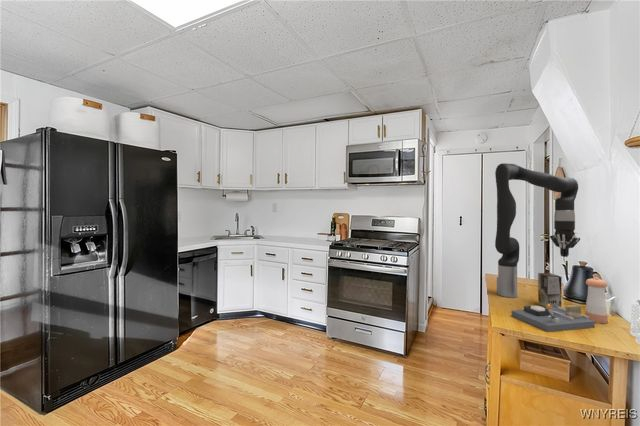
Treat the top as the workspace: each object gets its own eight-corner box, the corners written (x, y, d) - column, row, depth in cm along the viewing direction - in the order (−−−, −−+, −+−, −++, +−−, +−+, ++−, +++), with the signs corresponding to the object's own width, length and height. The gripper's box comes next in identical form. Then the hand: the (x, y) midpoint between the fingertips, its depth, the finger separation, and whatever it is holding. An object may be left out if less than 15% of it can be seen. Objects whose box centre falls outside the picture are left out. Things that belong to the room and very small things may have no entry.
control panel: (511, 315, 136) (511, 306, 136) (553, 312, 140) (553, 303, 140) (548, 331, 118) (548, 320, 118) (594, 327, 122) (594, 316, 122)
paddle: (565, 317, 126) (565, 305, 126) (577, 316, 127) (577, 305, 127) (569, 318, 125) (569, 307, 125) (581, 317, 126) (581, 306, 126)
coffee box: (562, 309, 144) (562, 276, 144) (547, 308, 145) (547, 276, 145) (551, 303, 153) (551, 272, 153) (537, 302, 154) (537, 272, 154)
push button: (527, 311, 134) (527, 305, 134) (537, 310, 135) (537, 305, 135) (538, 315, 129) (538, 309, 129) (547, 314, 130) (548, 308, 130)
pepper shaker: (612, 322, 127) (612, 278, 126) (598, 324, 125) (598, 279, 125) (594, 316, 134) (594, 275, 134) (580, 317, 133) (580, 275, 132)
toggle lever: (549, 318, 123) (543, 304, 122) (552, 316, 123) (547, 302, 123) (553, 320, 121) (548, 306, 120) (557, 317, 121) (552, 304, 121)
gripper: (586, 220, 132) (585, 258, 132) (557, 219, 145) (557, 254, 145) (572, 220, 131) (572, 259, 131) (544, 219, 144) (544, 254, 144)
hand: (564, 256), depth 138 cm, fingers closed
